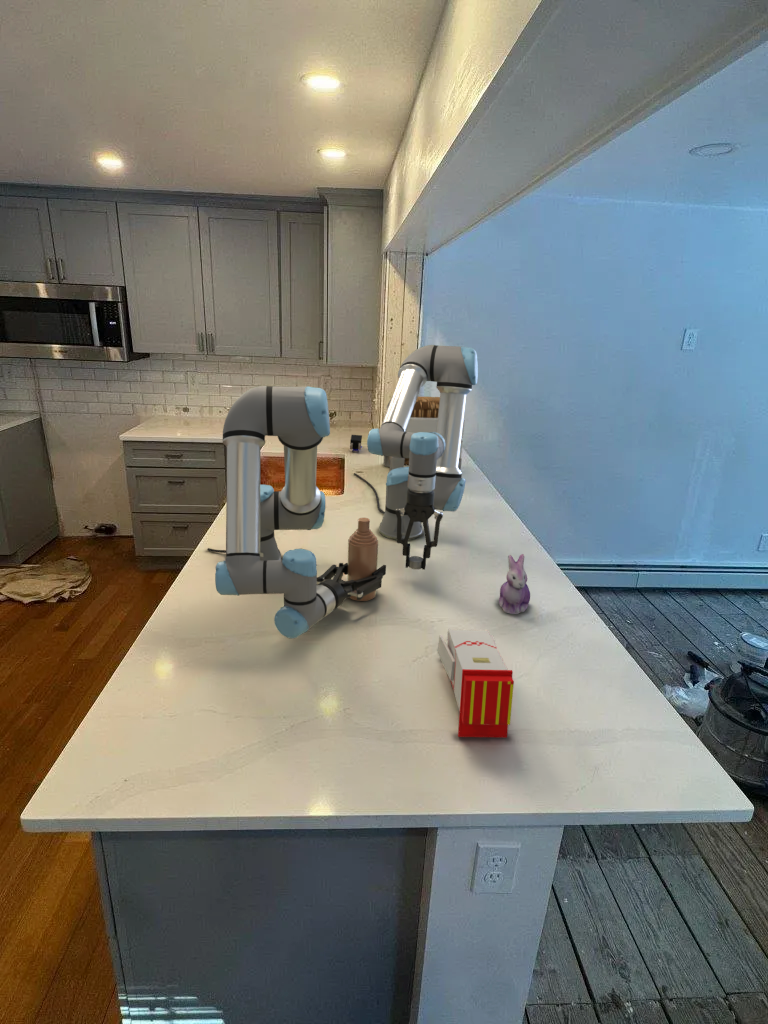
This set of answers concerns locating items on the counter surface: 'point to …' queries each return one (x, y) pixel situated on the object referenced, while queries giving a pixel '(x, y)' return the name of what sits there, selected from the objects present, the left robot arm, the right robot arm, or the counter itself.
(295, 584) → the left robot arm
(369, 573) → the tan bottle
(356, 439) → the figurine character
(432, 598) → the counter surface
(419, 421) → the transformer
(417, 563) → the cap
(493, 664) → the toy
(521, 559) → the figurine
